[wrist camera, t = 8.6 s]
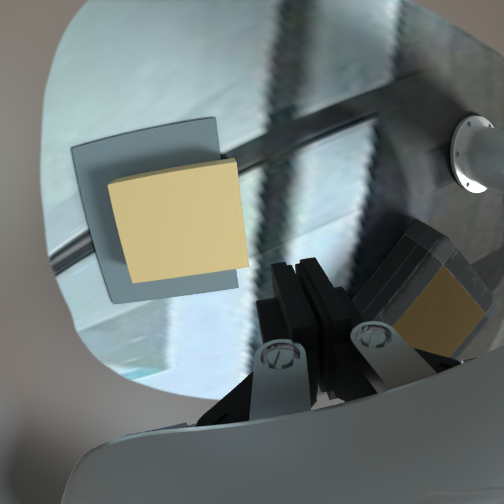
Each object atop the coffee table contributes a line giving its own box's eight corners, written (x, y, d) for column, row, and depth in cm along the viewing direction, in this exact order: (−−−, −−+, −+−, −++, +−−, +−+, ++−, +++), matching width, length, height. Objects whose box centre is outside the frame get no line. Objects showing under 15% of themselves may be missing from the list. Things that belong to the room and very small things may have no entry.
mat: (215, 117, 34) (215, 117, 33) (238, 286, 43) (238, 287, 42) (73, 148, 33) (72, 148, 32) (114, 302, 41) (113, 304, 41)
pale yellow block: (236, 162, 32) (107, 184, 31) (249, 266, 36) (132, 283, 36) (233, 157, 35) (118, 177, 35) (245, 252, 40) (139, 267, 39)
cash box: (332, 318, 47) (350, 349, 40) (414, 214, 42) (446, 232, 35) (412, 363, 55) (430, 388, 48) (477, 286, 50) (501, 306, 43)
